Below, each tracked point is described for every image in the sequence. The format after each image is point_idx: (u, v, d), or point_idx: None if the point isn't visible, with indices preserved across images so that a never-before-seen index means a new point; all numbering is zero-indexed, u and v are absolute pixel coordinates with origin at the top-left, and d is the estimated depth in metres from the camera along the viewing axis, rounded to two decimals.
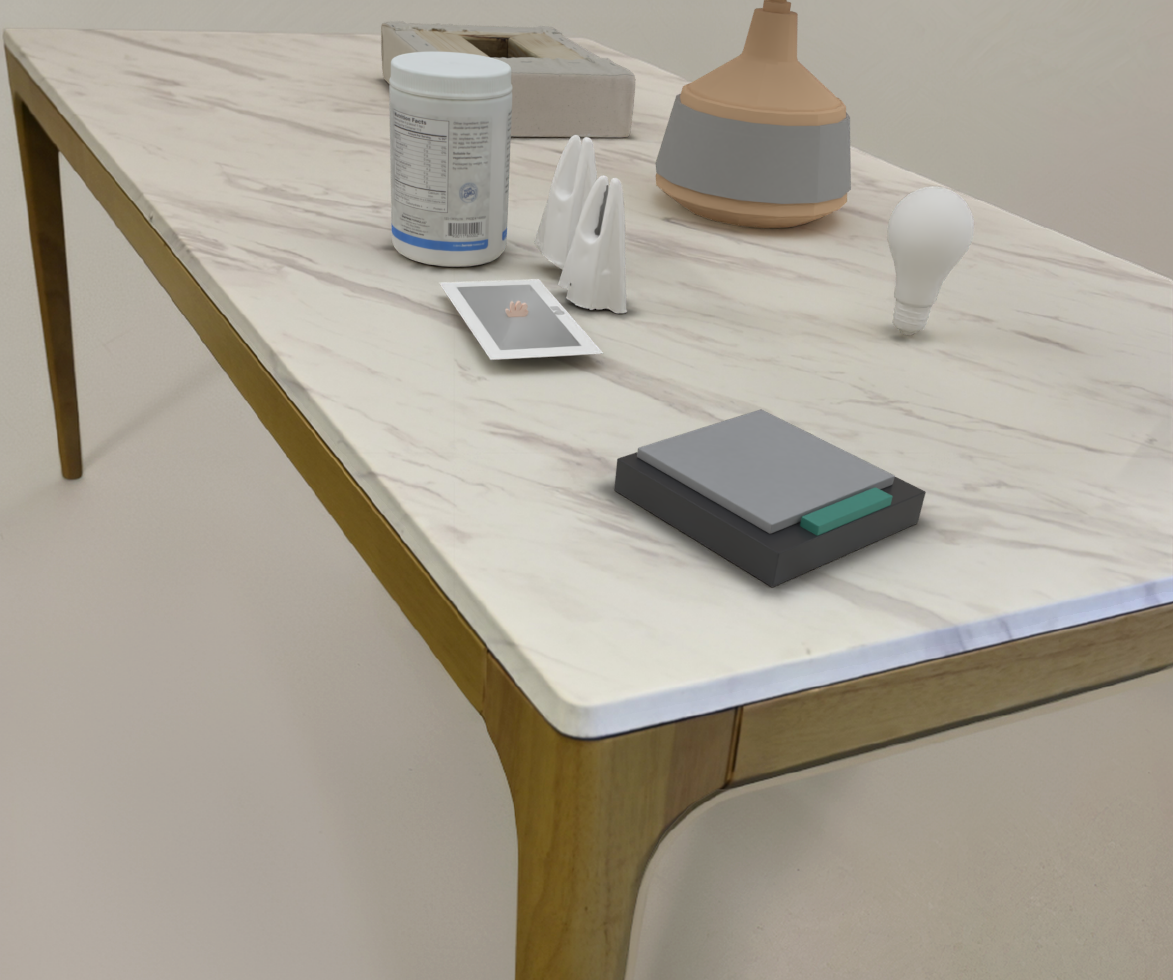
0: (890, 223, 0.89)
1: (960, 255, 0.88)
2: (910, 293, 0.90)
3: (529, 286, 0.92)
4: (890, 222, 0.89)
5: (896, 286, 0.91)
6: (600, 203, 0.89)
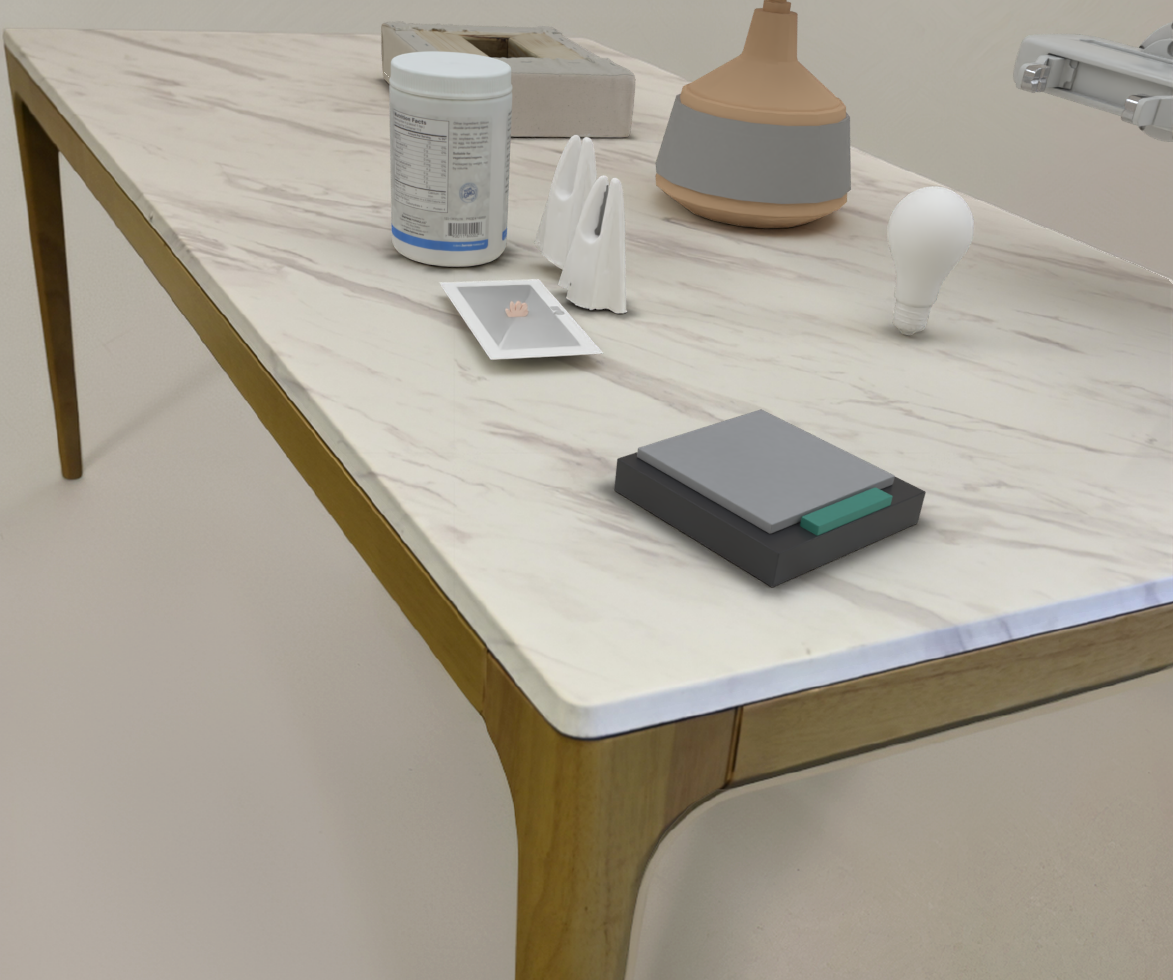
0: (890, 223, 0.89)
1: (960, 255, 0.88)
2: (910, 293, 0.90)
3: (529, 286, 0.92)
4: (890, 222, 0.89)
5: (896, 286, 0.91)
6: (600, 203, 0.89)
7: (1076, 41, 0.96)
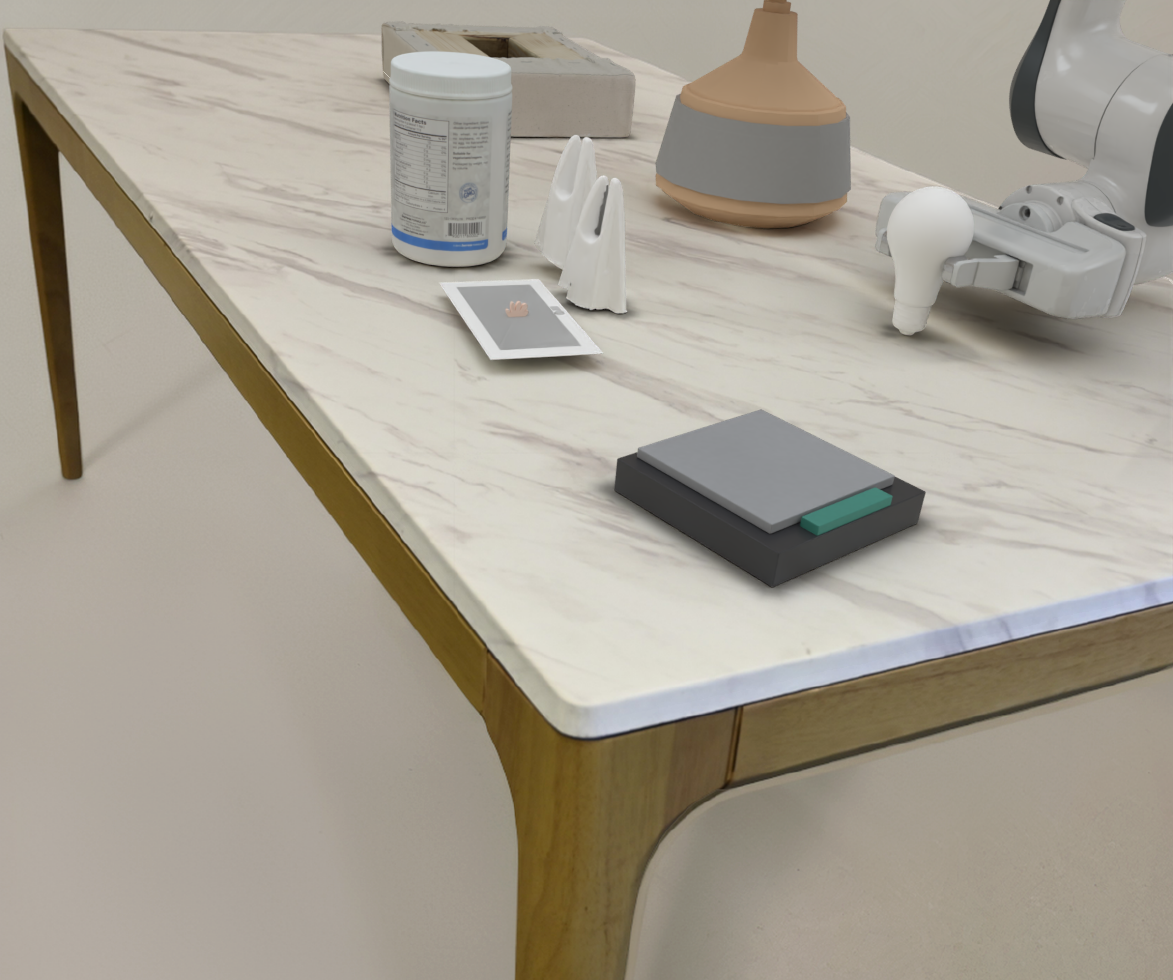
0: (890, 223, 0.89)
1: (960, 255, 0.88)
2: (910, 293, 0.90)
3: (529, 286, 0.92)
4: (890, 222, 0.89)
5: (896, 286, 0.91)
6: (600, 203, 0.89)
7: None
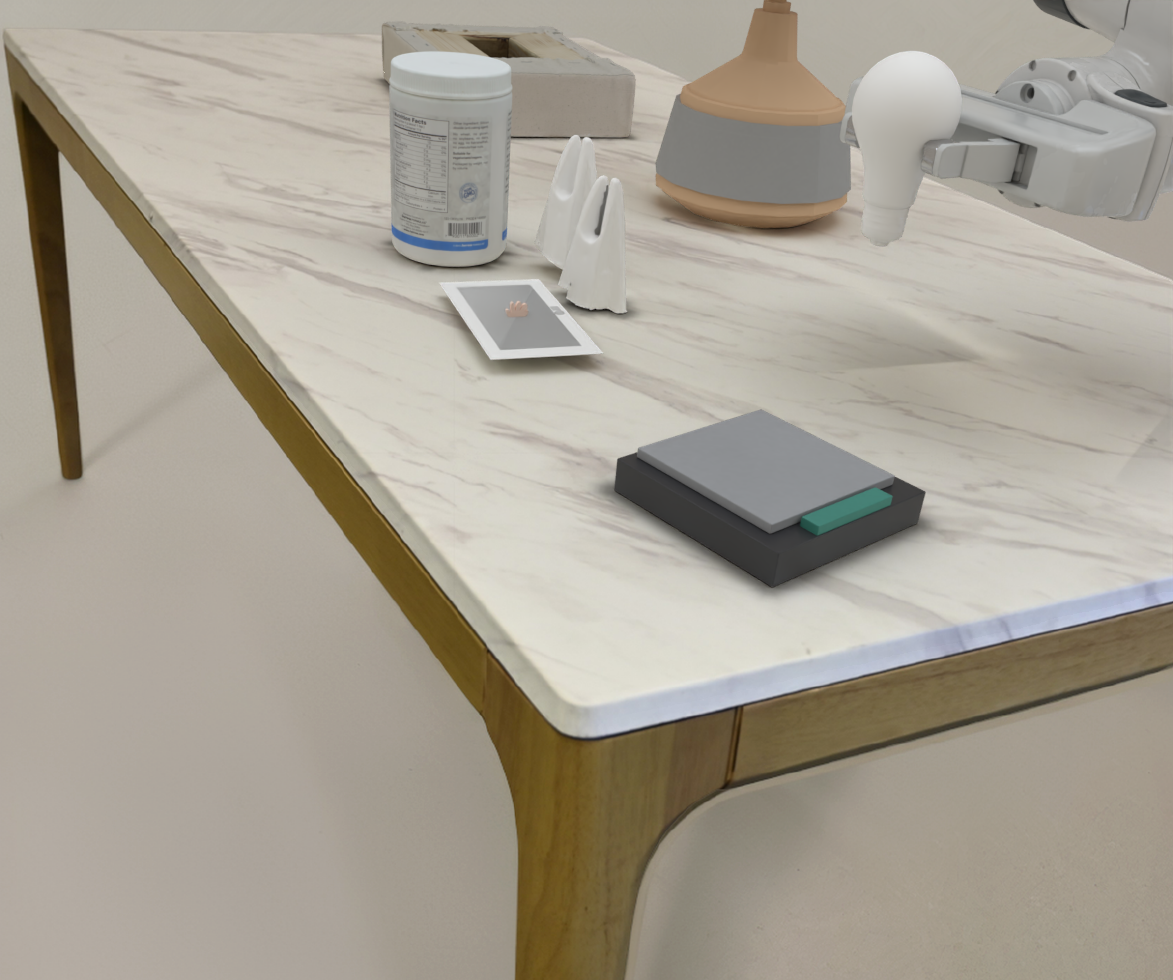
0: (855, 99, 0.70)
1: (944, 138, 0.69)
2: (882, 190, 0.71)
3: (529, 286, 0.92)
4: (855, 98, 0.70)
5: (865, 183, 0.72)
6: (600, 203, 0.89)
7: None
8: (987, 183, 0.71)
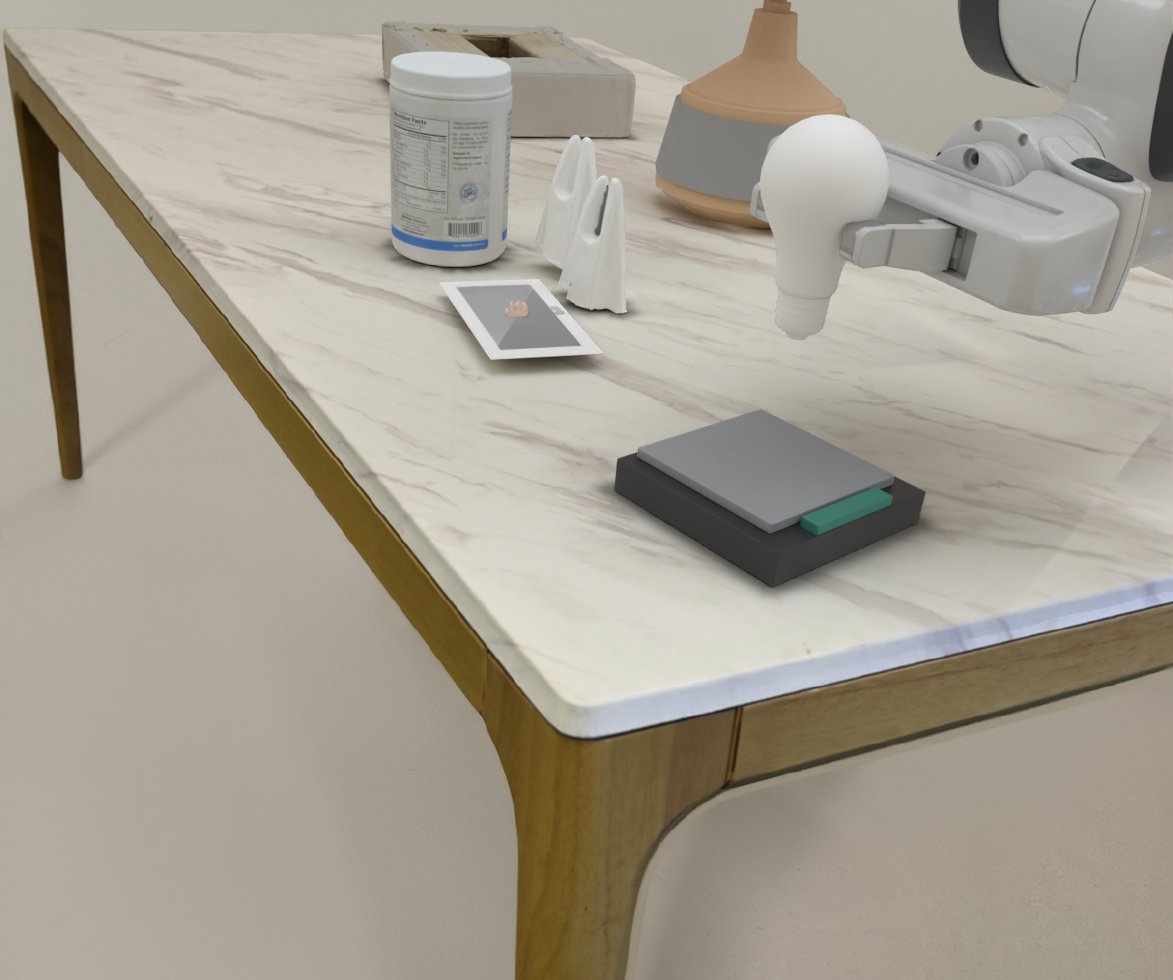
0: (762, 171, 0.58)
1: (867, 219, 0.58)
2: (796, 277, 0.60)
3: (529, 286, 0.92)
4: (763, 169, 0.58)
5: (777, 267, 0.61)
6: (600, 203, 0.89)
7: None
8: None
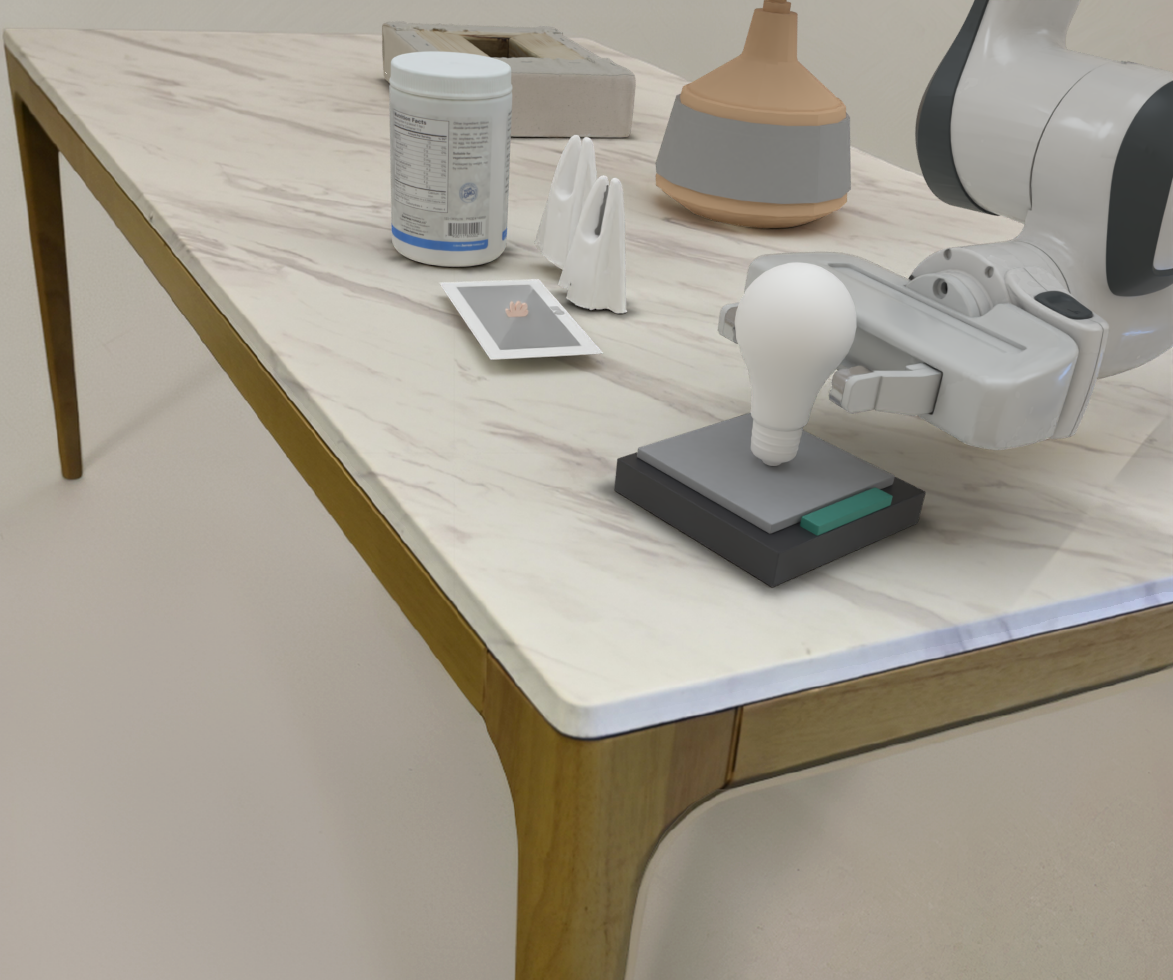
0: (737, 315, 0.62)
1: (836, 361, 0.61)
2: (770, 412, 0.63)
3: (529, 286, 0.92)
4: (737, 313, 0.62)
5: (752, 400, 0.64)
6: (600, 203, 0.89)
7: None
8: None
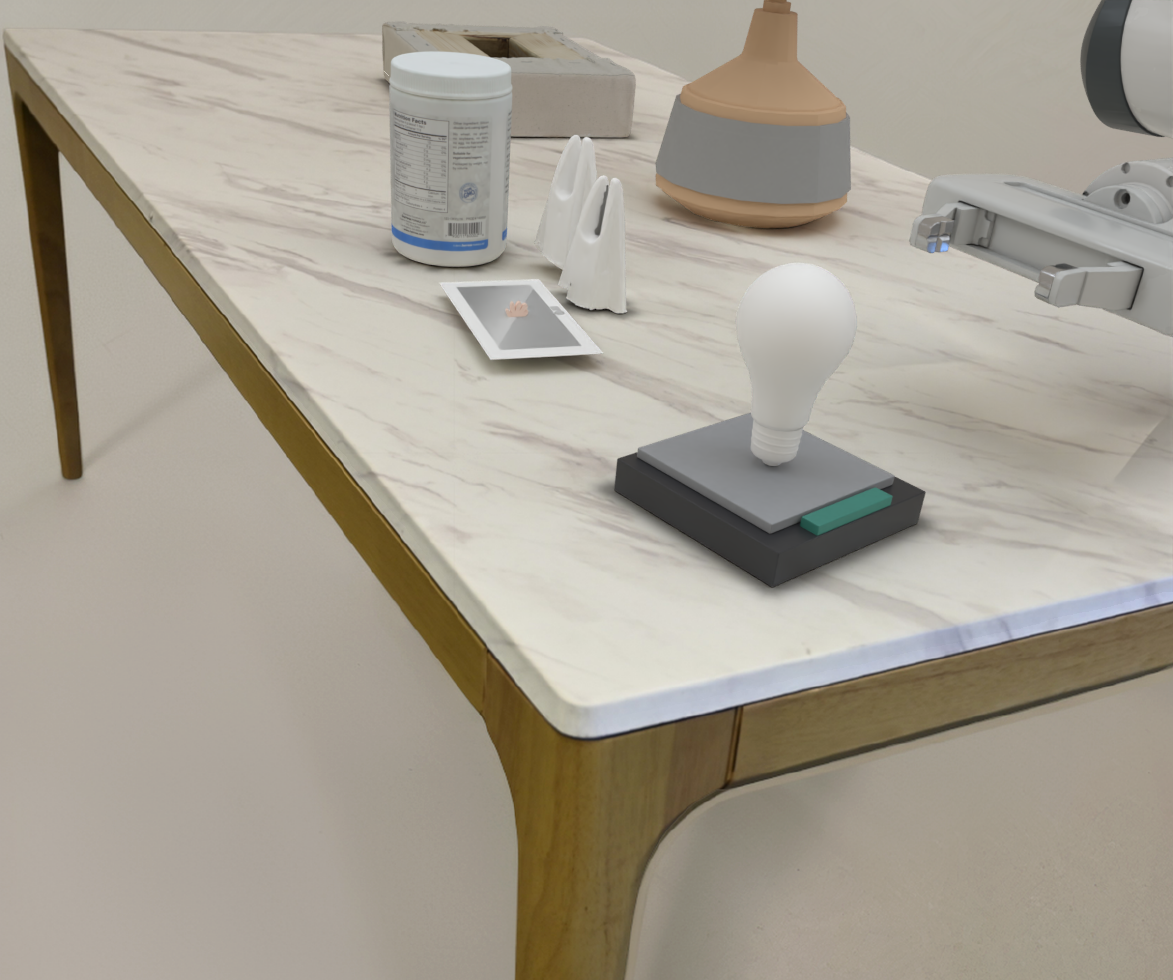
0: (738, 315, 0.62)
1: (836, 361, 0.61)
2: (770, 412, 0.63)
3: (529, 286, 0.92)
4: (738, 313, 0.62)
5: (752, 400, 0.64)
6: (600, 203, 0.89)
7: (999, 185, 0.74)
8: None
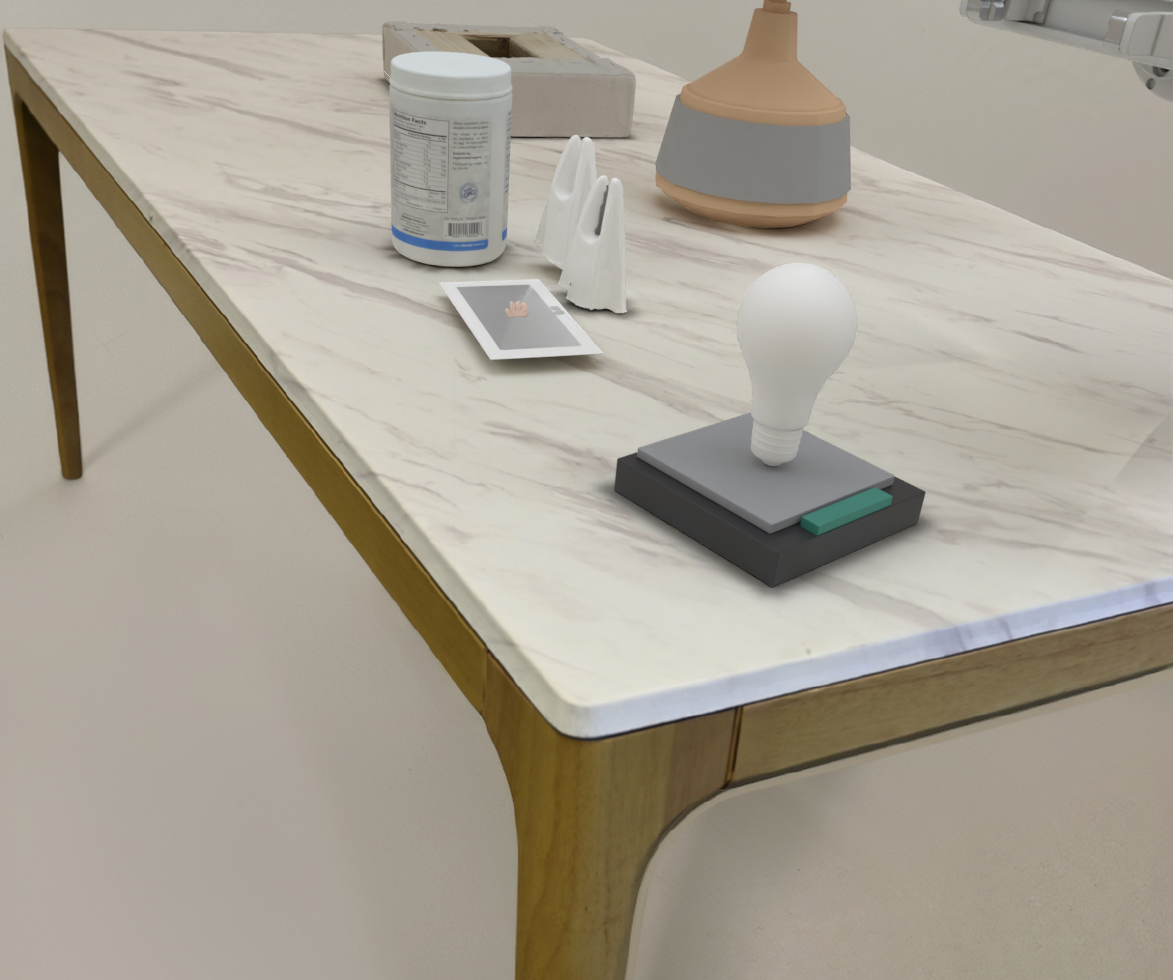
0: (738, 315, 0.62)
1: (837, 362, 0.61)
2: (770, 412, 0.63)
3: (529, 286, 0.92)
4: (738, 313, 0.62)
5: (752, 400, 0.64)
6: (600, 203, 0.89)
7: None
8: (1155, 62, 0.60)
